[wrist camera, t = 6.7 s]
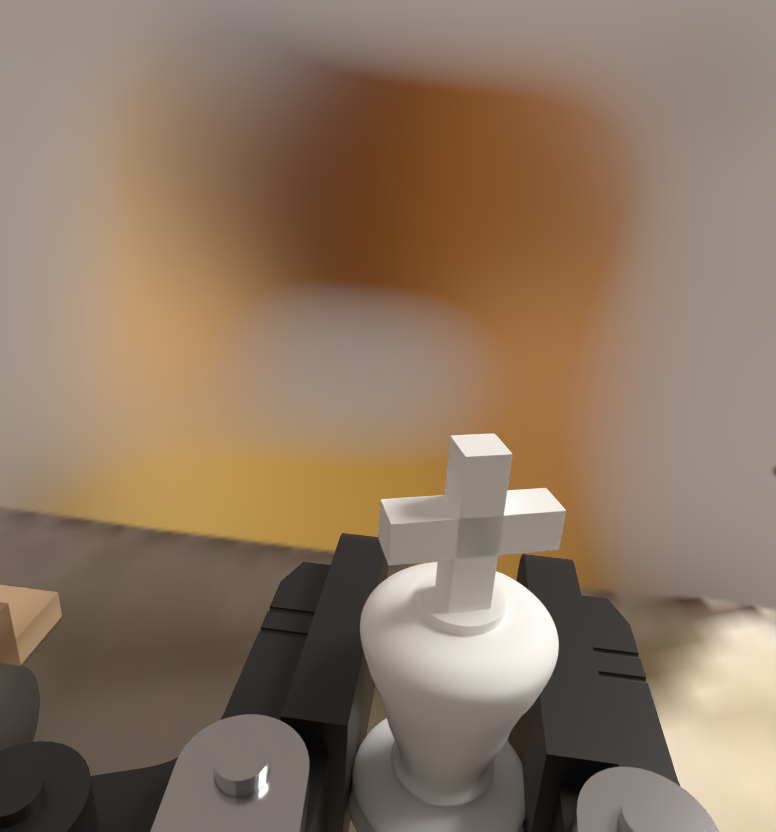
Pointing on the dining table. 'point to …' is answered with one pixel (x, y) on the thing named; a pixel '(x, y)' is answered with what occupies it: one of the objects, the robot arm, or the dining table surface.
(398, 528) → the chess piece
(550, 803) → the robot arm
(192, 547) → the dining table surface
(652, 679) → the dining table surface
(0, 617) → the truck bed
